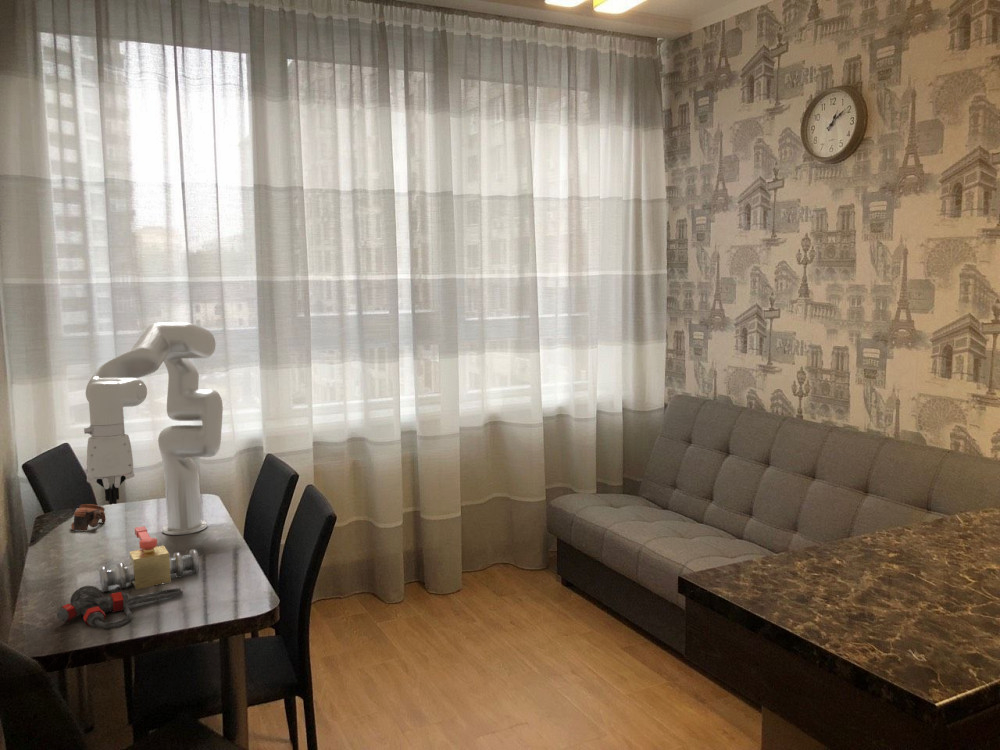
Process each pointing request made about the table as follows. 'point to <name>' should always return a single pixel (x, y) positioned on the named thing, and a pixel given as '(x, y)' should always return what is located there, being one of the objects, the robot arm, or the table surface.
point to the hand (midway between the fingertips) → (112, 502)
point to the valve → (106, 605)
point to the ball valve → (149, 568)
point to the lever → (145, 538)
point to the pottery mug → (87, 516)
